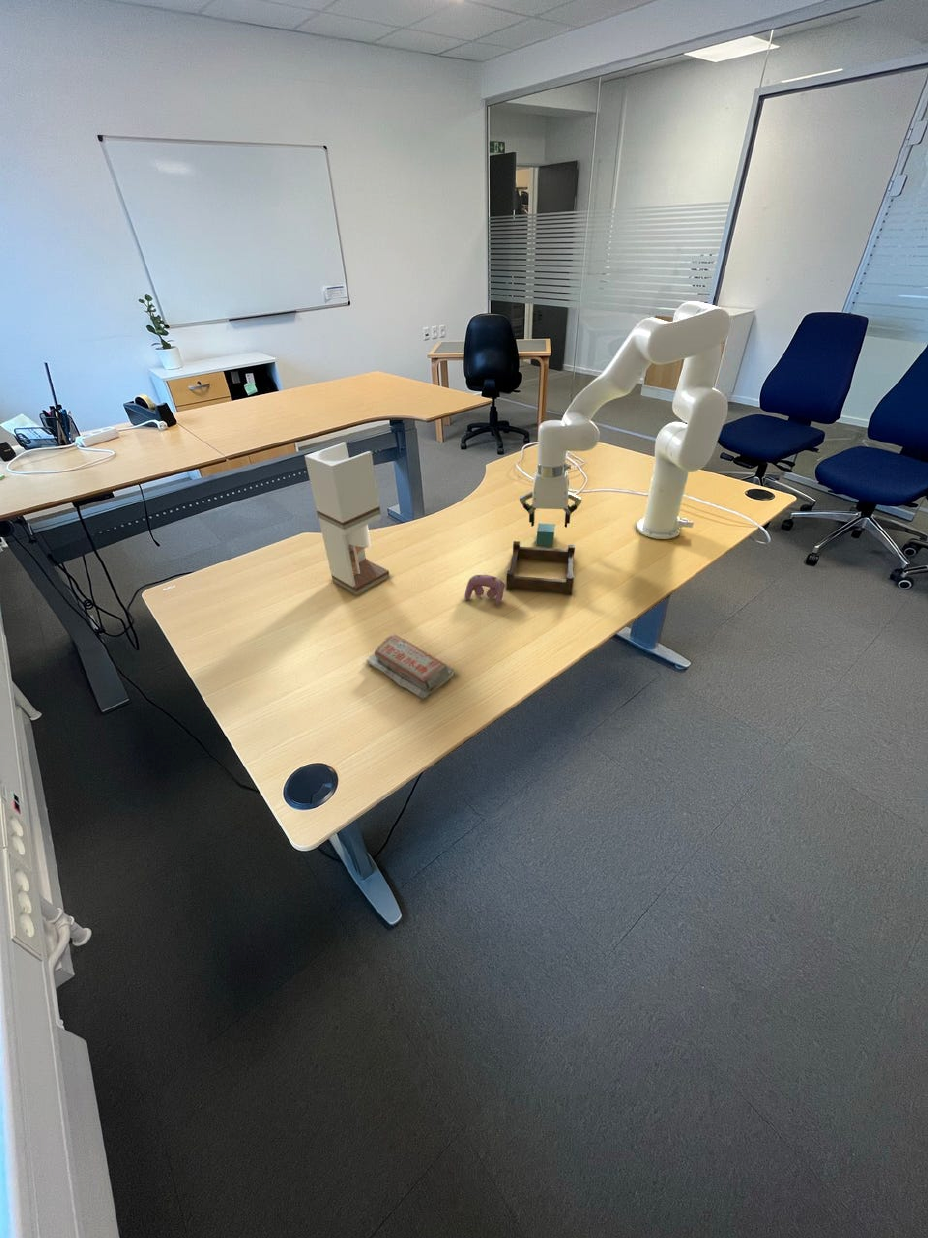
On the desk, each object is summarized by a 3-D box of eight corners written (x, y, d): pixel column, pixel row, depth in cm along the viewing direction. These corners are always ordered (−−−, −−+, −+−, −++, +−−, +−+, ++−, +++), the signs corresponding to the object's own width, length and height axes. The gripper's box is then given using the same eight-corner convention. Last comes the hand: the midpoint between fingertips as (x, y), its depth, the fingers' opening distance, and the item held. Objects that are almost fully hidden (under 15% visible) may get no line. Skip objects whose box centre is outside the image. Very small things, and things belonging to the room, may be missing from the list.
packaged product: (455, 658, 108) (421, 685, 102) (456, 675, 111) (423, 702, 105) (396, 624, 118) (363, 647, 112) (399, 641, 121) (366, 663, 115)
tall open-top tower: (356, 595, 136) (331, 466, 115) (332, 580, 142) (304, 455, 121) (389, 576, 143) (371, 451, 121) (365, 563, 148) (343, 442, 127)
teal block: (553, 538, 156) (554, 524, 154) (552, 546, 153) (553, 532, 150) (537, 537, 157) (538, 523, 154) (536, 545, 154) (537, 531, 151)
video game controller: (503, 604, 134) (507, 577, 132) (499, 606, 129) (503, 579, 128) (467, 597, 136) (470, 571, 135) (462, 600, 132) (465, 573, 130)
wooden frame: (573, 560, 146) (575, 544, 143) (571, 594, 133) (573, 578, 130) (513, 556, 149) (513, 541, 146) (506, 589, 136) (506, 573, 133)
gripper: (584, 463, 142) (579, 519, 153) (521, 463, 146) (521, 518, 156) (583, 474, 137) (579, 532, 147) (518, 473, 140) (518, 530, 150)
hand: (549, 524), depth 152 cm, fingers open, 9 cm apart
